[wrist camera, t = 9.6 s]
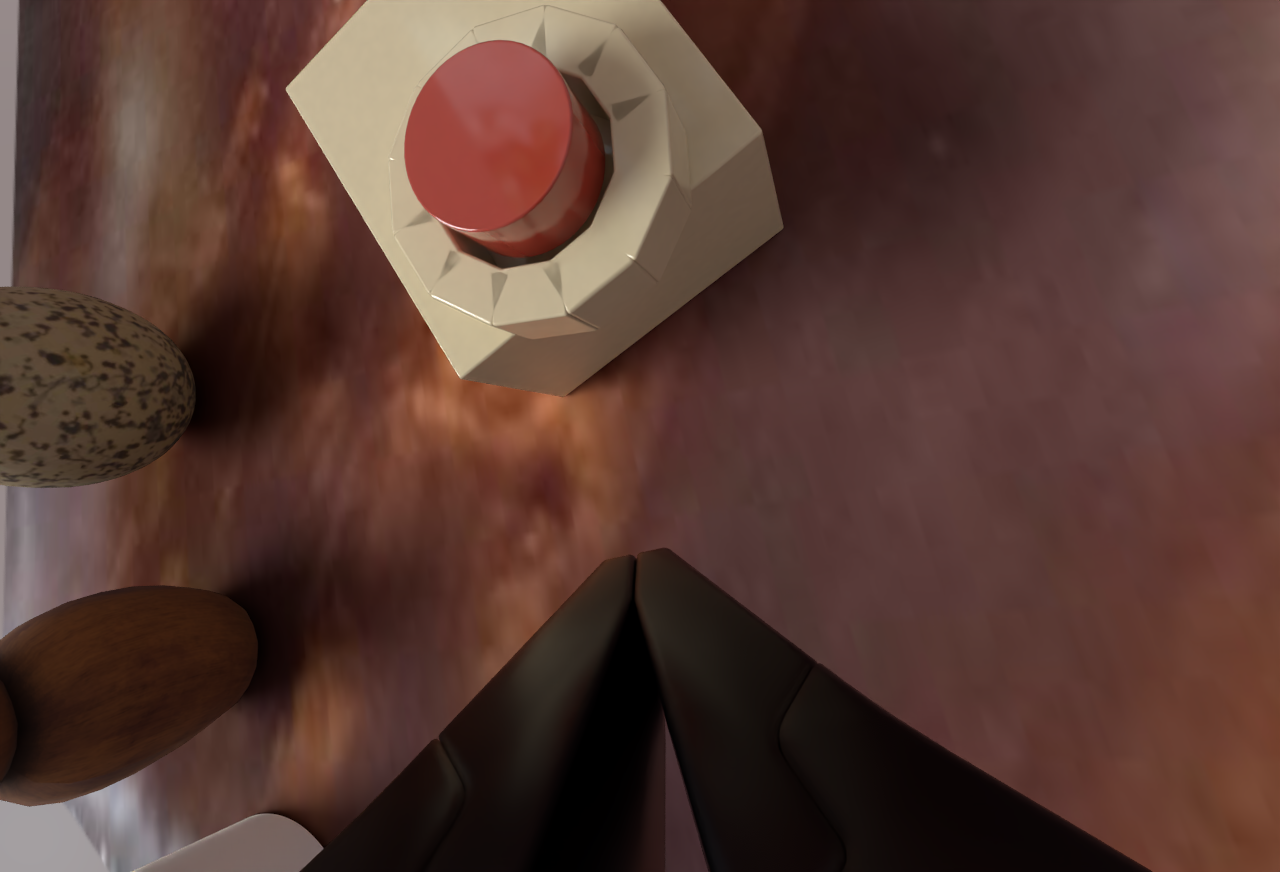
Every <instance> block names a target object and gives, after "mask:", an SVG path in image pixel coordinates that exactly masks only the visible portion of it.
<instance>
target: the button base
mask: <svg viewBox="0 0 1280 872" xmlns="http://www.w3.org/2000/svg"><path fill="white" fill-rule="evenodd" d="M492 40H510V41H515V42H519V43H523V44H525V45H528V46H530V47H533V48H534V49H536V50H538V51H539V52H541V53H542V54H543V55H545V56H546V57H547V58H548V59H549V60H550V61H551V62H552V63H553V64H554V65H555V67H556V68H557V69H558V70H559V72H560V73H561V74H562V76H563V77H564V78H565V80H566V81H567V83H568V84H569V85H570V87H571V88H572V89H573V91H574V92H575V94H576V95H577V96H578V98H579V99H580V100H581V102H582V103H583V104H584V106H585V107H586V109H587V110H588V111H589V113H590V114H591V115H592V117H593V119H594V120H595V122H596V124H597V126H598V128H599V131H600V133H601V136H602V140H603V143H604V150H605V175H604V181H603V185H602V190H601V193H600V195H599V198H598V201H597V203H596V205H595V207H594V209H593V211H592V213H591V214H590V216H589V217H588V219H587V220H586V222H585V223H584V224H583V226H582V227H581V228H580V229H579V230H578V231H577V232H576V233H575V234H574V235H573V236H572V237H571V238H570V239H568V240H567V241H566V242H564V243H563V244H562V245H560V246H558V247H556V248H555V249H553V250H551V251H548V252H546V253H543V254H540V255H536V256H532V257H524V258H516V257H507V256H502V255H500V254H497V253H494V252H492V251H490V250H488V249H486V248H484V247H483V246H481V245H479V244H477V243H476V242H474V241H472V240H470V239H469V238H467V237H465V236H463V235H462V234H460V233H458V232H456V231H454V230H453V229H451V228H449V227H447V226H446V225H444V224H442V223H440V222H439V221H438V220H436V219H435V218H434V217H432V216H431V215H430V214H429V213H428V212H427V211H426V210H425V209H424V208H423V206H422V205H421V203H420V202H419V201H418V199H417V197H416V195H415V194H414V192H413V190H412V187H411V185H410V182H409V179H408V176H407V172H406V167H405V159H404V142H405V132H406V128H407V123H408V119H409V116H410V113H411V110H412V107H413V105H414V103H415V101H416V98H417V96H418V95H419V93H420V91H421V89H422V88H423V86H424V85H425V83H426V82H427V81H428V79H429V78H430V77H431V75H432V74H433V73H434V72H435V71H436V70H437V69H438V68H439V67H440V66H441V65H442V64H443V63H444V62H445V61H447V60H448V59H449V58H451V57H452V56H453V55H455V54H456V53H458V52H460V51H462V50H463V49H465V48H467V47H470V46H472V45H475V44H478V43H481V42H486V41H492ZM286 91H287V93H288V94H289V96H290V98H291V99H292V101H293V103H294V104H295V106H296V108H297V109H298V111H299V113H300V114H301V116H302V118H303V119H304V121H305V123H306V124H307V126H308V127H309V129H310V131H311V132H312V134H313V136H314V137H315V139H316V141H317V142H318V144H319V146H320V147H321V149H322V151H323V152H324V154H325V156H326V157H327V159H328V161H329V162H330V164H331V166H332V167H333V169H334V171H335V172H336V174H337V176H338V177H339V179H340V181H341V182H342V184H343V186H344V187H345V189H346V190H347V192H348V194H349V195H350V197H351V199H352V200H353V202H354V204H355V205H356V207H357V209H358V210H359V212H360V214H361V215H362V217H363V219H364V220H365V222H366V224H367V225H368V227H369V229H370V230H371V232H372V234H373V235H374V237H375V239H376V240H377V242H378V244H379V245H380V247H381V249H382V250H383V252H384V253H385V255H386V257H387V258H388V260H389V262H390V263H391V265H392V267H393V268H394V270H395V272H396V273H397V275H398V277H399V278H400V280H401V282H402V283H403V285H404V287H405V288H406V290H407V292H408V293H409V295H410V297H411V298H412V300H413V302H414V303H415V305H416V307H417V308H418V310H419V312H420V313H421V315H422V316H423V318H424V320H425V321H426V323H427V325H428V326H429V328H430V330H431V331H432V333H433V335H434V336H435V338H436V340H437V341H438V343H439V345H440V346H441V348H442V350H443V351H444V353H445V355H446V356H447V358H448V360H449V361H450V363H451V365H452V366H453V368H454V370H455V371H456V373H457V375H458V376H459V378H461V379H464V380H469V381H475V382H481V383H486V384H492V385H497V386H503V387H509V388H514V389H520V390H526V391H531V392H537V393H543V394H548V395H554V396H560V397H565V396H566V395H567V394H569V393H570V392H571V391H572V390H574V389H575V388H576V387H578V386H579V385H580V384H582V383H583V382H584V381H586V380H587V379H588V378H589V377H591V376H592V375H593V374H595V373H596V372H597V371H599V370H600V369H601V368H602V367H604V366H605V365H606V364H608V363H609V362H610V361H612V360H613V359H614V358H615V357H617V356H618V355H619V354H621V353H622V352H623V351H625V350H626V349H627V348H628V347H630V346H631V345H632V344H634V343H635V342H636V341H638V340H639V339H640V338H641V337H643V336H644V335H645V334H647V333H648V332H649V331H651V330H652V329H653V328H655V327H656V326H657V325H658V324H660V323H661V322H662V321H664V320H665V319H666V318H668V317H669V316H670V315H671V314H673V313H674V312H675V311H677V310H678V309H679V308H681V307H682V306H683V305H684V304H686V303H687V302H688V301H690V300H691V299H692V298H694V297H695V296H696V295H697V294H699V293H700V292H701V291H703V290H704V289H705V288H707V287H708V286H709V285H711V284H712V283H713V282H714V281H716V280H717V279H718V278H720V277H721V276H722V275H724V274H725V273H726V272H727V271H729V270H730V269H731V268H733V267H734V266H735V265H737V264H738V263H739V262H740V261H742V260H743V259H744V258H746V257H747V256H748V255H750V254H751V253H752V252H753V251H755V250H756V249H757V248H759V247H760V246H761V245H763V244H764V243H765V242H767V241H768V240H769V239H770V238H772V237H773V236H774V235H776V234H777V233H778V232H780V231H781V230H782V229H783V228H784V226H783V222H782V217H781V213H780V208H779V204H778V199H777V195H776V190H775V186H774V181H773V177H772V172H771V168H770V163H769V159H768V155H767V150H766V146H765V141H764V137H763V132H762V129H761V128H760V127H759V125H758V124H757V123H756V121H755V120H754V119H753V118H752V116H751V115H750V114H749V112H748V111H747V110H746V109H745V107H744V106H743V105H742V104H741V102H740V101H739V100H738V98H737V97H736V96H735V95H734V93H733V92H732V91H731V89H730V88H729V87H728V86H727V84H726V83H725V82H724V81H723V79H722V78H721V77H720V75H719V74H718V73H717V72H716V70H715V69H714V68H713V66H712V65H711V64H710V63H709V61H708V60H707V59H706V58H705V56H704V55H703V54H702V52H701V51H700V50H699V49H698V47H697V46H696V45H695V43H694V42H693V41H692V40H691V38H690V37H689V36H688V35H687V33H686V32H685V31H684V29H683V28H682V27H681V26H680V24H679V23H678V22H677V20H676V19H675V18H674V17H673V15H672V14H671V13H670V12H669V10H668V9H667V8H666V6H665V5H664V4H663V3H662V1H661V0H367V1H366V2H365V3H364V4H363V5H362V6H361V7H360V8H359V10H358V11H357V12H356V13H355V14H354V15H353V16H352V17H351V18H350V19H349V20H348V21H347V22H346V24H345V25H344V26H343V27H342V28H341V29H340V30H339V31H338V32H337V33H336V34H335V35H334V36H333V38H332V39H331V40H330V41H329V42H328V43H327V44H326V45H325V46H324V47H323V48H322V49H321V50H320V52H319V53H318V54H317V55H316V56H315V57H314V58H313V59H312V60H311V61H310V62H309V63H308V64H307V66H306V67H305V68H304V69H303V70H302V71H301V72H300V73H299V74H298V75H297V76H296V77H295V78H294V80H293V81H292V82H291V83H290V84H289V85H288V86H287V87H286Z"/></svg>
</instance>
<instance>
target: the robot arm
mask: <svg viewBox="0 0 1280 872" xmlns="http://www.w3.org/2000/svg"><path fill="white" fill-rule="evenodd" d="M664 715H665V716H664ZM665 718H666V722H667V726H668V729H669V733H670V737H671V740H672V744H673V747H674V751H675V755H676V758H677V762H678V765H679V769H680V772H681V776H682V780H683V783H684V787H685V790H686V794H687V797H688V801H689V805H690V808H691V812H692V815H693V819H694V823H695V826H696V830H697V833H698V837H699V840H700V844H701V848H702V851H703V855H704V858H705V862H706V865H707V869H708V872H1152V871H1151V870H1149V869H1147V868H1146V867H1144V866H1142V865H1141V864H1139V863H1137V862H1136V861H1134V860H1132V859H1130V858H1129V857H1127V856H1125V855H1124V854H1122V853H1120V852H1119V851H1117V850H1115V849H1114V848H1112V847H1110V846H1109V845H1107V844H1105V843H1104V842H1102V841H1100V840H1098V839H1097V838H1095V837H1093V836H1092V835H1090V834H1088V833H1087V832H1085V831H1083V830H1082V829H1080V828H1078V827H1077V826H1075V825H1073V824H1072V823H1070V822H1068V821H1066V820H1065V819H1063V818H1061V817H1060V816H1058V815H1056V814H1055V813H1053V812H1051V811H1050V810H1048V809H1046V808H1045V807H1043V806H1041V805H1040V804H1038V803H1036V802H1034V801H1033V800H1031V799H1029V798H1028V797H1026V796H1024V795H1023V794H1021V793H1019V792H1018V791H1016V790H1014V789H1013V788H1011V787H1009V786H1008V785H1006V784H1004V783H1002V782H1001V781H999V780H997V779H996V778H994V777H992V776H991V775H989V774H987V773H986V772H984V771H982V770H981V769H979V768H977V767H976V766H974V765H972V764H971V763H969V762H967V761H965V760H964V759H962V758H960V757H959V756H957V755H955V754H954V753H952V752H950V751H949V750H947V749H946V748H944V747H942V746H941V745H939V744H938V743H936V742H934V741H933V740H931V739H930V738H928V737H926V736H925V735H923V734H922V733H920V732H918V731H917V730H915V729H914V728H912V727H910V726H909V725H907V724H906V723H904V722H903V721H901V720H899V719H898V718H896V717H895V716H893V715H891V714H890V713H888V712H887V711H886V710H884V709H883V708H881V707H880V706H879V705H877V704H876V703H874V702H873V701H872V700H870V699H869V698H867V697H866V696H864V695H863V694H862V693H860V692H859V691H857V690H856V689H855V688H853V687H852V686H850V685H849V684H848V683H846V682H845V681H843V680H842V679H841V678H840V677H838V676H837V675H836V674H834V673H833V672H832V671H830V670H829V669H828V668H826V667H825V666H824V665H822V664H820V663H818V664H817V662H816V661H815V660H814V659H813V658H811V657H810V656H809V655H807V654H806V653H805V652H803V651H802V650H801V649H800V648H798V647H797V646H796V645H794V644H793V643H792V642H790V641H789V640H788V639H786V638H785V637H784V636H782V635H781V634H780V633H779V632H777V631H776V630H775V629H773V628H772V627H771V626H769V625H768V624H767V623H765V622H764V621H763V620H762V619H760V618H759V617H758V616H756V615H755V614H754V613H752V612H751V611H750V610H748V609H747V608H746V607H744V606H743V605H742V604H741V603H739V602H738V601H737V600H735V599H734V598H733V597H731V596H730V595H729V594H727V593H726V592H725V591H724V590H722V589H721V588H720V587H718V586H717V585H716V584H714V583H713V582H712V581H710V580H709V579H708V578H706V577H705V576H704V575H703V574H701V573H700V572H699V571H697V570H696V569H695V568H693V567H692V566H691V565H689V564H688V563H687V562H686V561H684V560H683V559H682V558H680V557H679V556H678V555H676V554H675V553H674V552H672V551H671V550H670V549H668V548H660V549H655V550H651V551H646V552H641V553H639V554H638V555H637V559H636V558H635V556H633V555H626V556H622V557H617V558H612V559H607V560H605V561H603V562H602V563H601V564H600V565H599V566H598V567H597V568H596V570H595V571H594V572H593V573H592V574H591V575H590V576H589V577H588V578H587V579H586V580H585V581H584V582H583V583H582V584H581V585H580V586H579V587H578V589H577V590H576V591H575V592H574V593H573V594H572V595H571V596H570V597H569V598H568V599H567V600H566V601H565V602H564V603H563V604H562V605H561V606H560V608H559V609H558V610H557V611H556V612H555V613H554V614H553V615H552V616H551V617H550V618H549V619H548V620H547V621H546V622H545V623H544V624H543V625H542V627H541V628H540V629H539V630H538V631H537V632H536V633H535V634H534V635H533V636H532V637H531V638H530V639H529V640H528V641H527V642H526V643H525V644H524V646H523V647H522V648H521V649H520V650H519V651H518V652H517V653H516V654H515V655H514V656H513V657H512V658H511V659H510V660H509V661H508V662H507V664H506V665H505V666H504V667H503V668H502V669H501V670H500V671H499V672H498V673H497V674H496V675H495V676H494V677H493V678H492V679H491V680H490V681H489V683H488V684H487V685H486V686H485V687H484V688H483V689H482V690H481V691H480V692H479V693H478V694H477V695H476V696H475V697H474V698H473V699H472V700H471V702H470V703H469V704H468V705H467V706H466V707H465V708H464V709H463V710H462V711H461V712H460V713H459V714H458V715H457V716H456V717H455V718H454V719H453V721H452V722H451V723H450V724H449V725H448V726H447V727H446V728H445V729H444V730H443V731H442V732H441V733H440V735H439V740H438V739H434V740H432V741H431V742H430V743H429V744H428V745H427V746H426V747H425V748H424V749H423V750H422V751H421V752H420V753H419V754H418V755H417V757H416V758H415V759H414V760H413V761H412V762H411V763H410V764H409V765H408V766H407V767H406V768H405V769H404V770H403V771H402V772H401V773H400V774H399V775H398V776H397V777H396V778H395V779H394V780H393V781H392V782H391V783H390V784H389V785H388V786H387V787H386V788H385V789H384V790H383V791H382V792H381V793H380V794H379V795H378V796H377V797H376V798H375V799H374V800H373V801H372V802H371V803H370V804H369V805H368V806H367V808H366V809H365V810H364V811H363V812H362V813H361V814H360V815H359V816H358V817H357V818H356V819H354V820H353V821H352V822H351V823H350V824H349V825H348V826H347V827H346V828H345V829H344V830H343V831H342V832H341V833H340V834H339V835H338V836H336V837H335V838H334V839H333V840H332V841H331V842H330V843H329V844H328V845H327V846H326V847H325V848H324V849H323V850H322V851H321V852H320V853H319V854H317V855H316V856H315V857H314V858H313V859H312V860H311V861H310V862H309V863H308V864H307V865H306V866H305V867H304V868H303V869H302V870H301V871H299V872H665V753H666V739H665Z"/></svg>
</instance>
